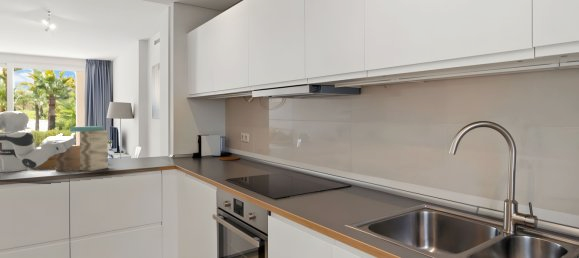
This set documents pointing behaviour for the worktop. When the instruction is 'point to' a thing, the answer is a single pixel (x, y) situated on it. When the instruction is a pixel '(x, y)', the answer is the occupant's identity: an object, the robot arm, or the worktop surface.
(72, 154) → the low stand
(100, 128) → the batten
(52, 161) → the wooden planter box
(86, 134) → the tall stand
